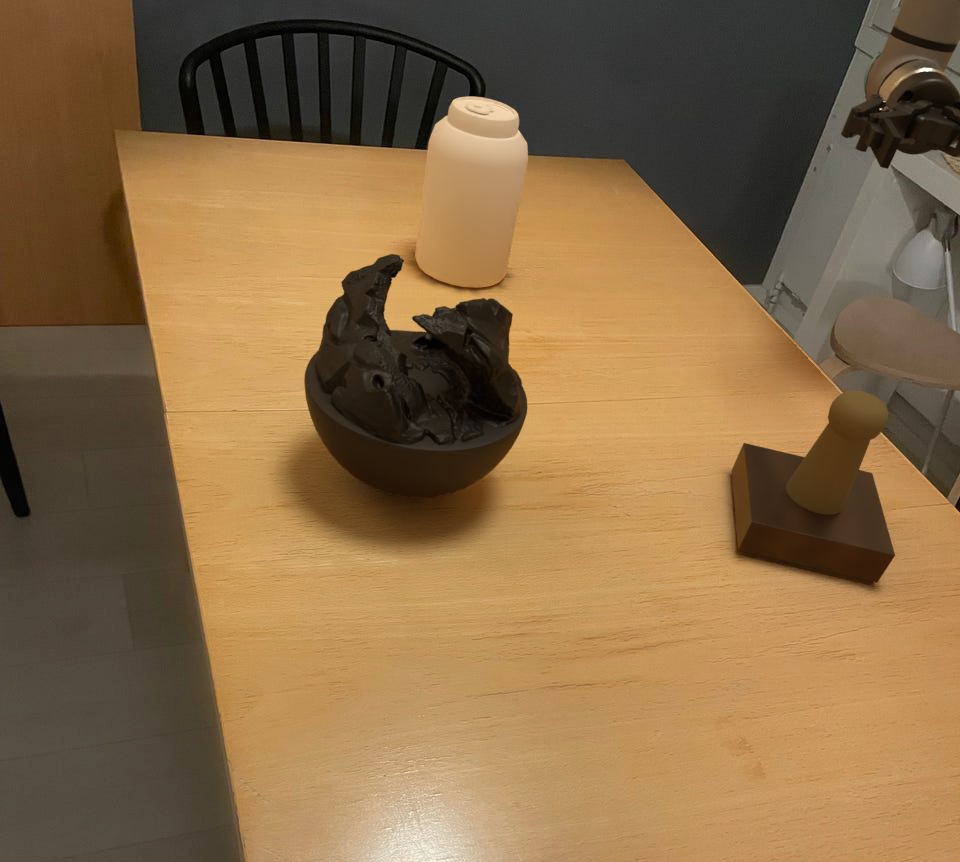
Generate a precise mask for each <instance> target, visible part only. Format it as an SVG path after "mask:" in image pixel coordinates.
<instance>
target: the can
mask: <svg viewBox="0 0 960 862" xmlns="http://www.w3.org/2000/svg"><path fill="white" fill-rule="evenodd" d="M519 126H520V116H519V113H518V112H517V110H516V109H514V108H513V107H511V106H510V105H508V104H506V103H503V102H502V101H498V100H495V99H491V98H488V97H483V96H474V95H473V96H467V95H466V96H461V97H456V98H454V99H453V100H452V102H451V103H450V105H449V107H448V111H447V115H445V116H443V118H441V119H440V120H439V121H437V122H436V123H435V124H434V126H433V129H432V132H431V134H430V137H429V140H428V145H427V153H426V160H425V170H424V178H423V185H422V194H421V202H420V211H419V221H418V230H417V237H416V246H415V252H414V258H415V261H416V264H417V265H418V268H419V269H420V270H421V271H423V272H424V274H426V275H428V276H429V277H432V278H433V279H435V280H436V281H439V282H441V283H445V284H447V285H453V286H456V287H462V288H475V289H476V288H477V289H479V288H487V287H491V286H494V285H497V284H499V283H500V282H501V281H503V279H504V278H505V276H506V275H507V271H508V265H509V260H510V255H511V250H512V245H513V240H514V236H515V229H516V225H517V219H518V215H519V209H520V205H521V204H520V203H521V199H522V193H523V188H524V184H525V178H526V173H527V168H528V162H529V150H528V149H529V148H528V142H527V141H526V139H525V137H524V136H523V134H522V133H521V131H520V130H519Z"/></svg>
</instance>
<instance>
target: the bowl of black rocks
mask: <svg viewBox="0 0 960 862" xmlns="http://www.w3.org/2000/svg"><path fill="white" fill-rule="evenodd" d="M404 262H405V259H404V258H402V257H401V256H400V255H399V254H396V253H395V254H394V253H390V254H387V255H384V256H380V257H378V258H377V259H376V260H375V262H374V263H372V264H368V265H366V266H362V267H361V268H358V269H356V270H352V271H350V272H349V273H348V274H347V275H346V276H345V277H344V278H343V280H342V281H341V282H340V283H341V288H342V290H343V294H342V295H340V296H338V297H337V298H336V299H335V300H334V301H333V303H332V304H331V306H330V307H329V309H328V311H327V312H326V315H325V322H324V324H323V326H322V334H321V335H322V336H321V337H322V338H321V341H320V344H319V347H318V350H316V352H315V353H314V354H313V355H312V356H311V358H310V359H309V361H308V363H307V365H306V367H305V370H304V371H305V372H304V377H303V378H304V379H303V381H304V382H303V383H304V394H305V401H306V404H307V408H308V412H309V415H310V419H311V422H312V424H313V426H314V429H315V431H316V433H317V436H318V437H319V439H320V441H321V442H322V444H323V445H324V447H325V448H326V450H327V451H328V453H329V454H330V455H331V456H332V458H333V459H334V460H335V461H336V462H337V463H338V464H339V465H340V467H341V468H343V469H344V470H345V471H347V472H348V473H349V474H350V475H352V476H353V477H354V478H355V479H357V480H358V481H360V482H362V483H363V484H364V485H367V486H368V487H371V488H373V489H375V490H377V491H379V492H383V493H386V494H389V495H393V496H397V497H402V498H408V499H409V498H411V499H431V498H437V497H442V496H446V495H450V494H454V493H456V492H459V491H462V490H463V489H466V488H468V487H471V486H472V485H473V484H475V483H477V482H479V481H481V480H482V479H483V478H484V477H486V476H487V475H488V474H490V473H491V472H492V471H493V470H494V469H495V468H496V467H498V465H499V464H500V463H501V462H502V461H503V460H504V458H505V457H506V456H507V454H509V452H510V451H511V449H512V448H513V447H514V445H515V444H516V441H517V439H518V437H519V435H520V434H521V431H522V428H523V426H524V424H525V421H526V417H527V414H528V397H527V394H526V391H525V389H524V387H523V382H522V381H523V380H522V378H521V377H520V375H519V373H518V371H517V370H515V369H514V368H513V367H512V366H511V364H510V363H509V362H510V361H509V360H510V359H509V358H510V331H511V327H512V323H513V316H514V313H513V312H512V311H510V310H509V309H508V308H506V306H504V305H503V304H501V302H499V301H498V300H497V299H495V298H485V297H482V298H476V299H475V298H474V299H470V300H464V301H459V303H458V304H457V303H456V305H455V306H454V307H452V308H451V307H448V306H446V305H442V306H437V307H435V308H434V311H433V313H432V315H430V314H428V313H427V314H425V313H422V314H419V315H413V316H411V320H412V321H413V322H414V323H415V324H417V325H418V327H420V328H421V329H422V330H424V331H418V330H417V331H415V330H404V329H403V330H402V329H401V330H400V329H390V327H389V325H388V324H387V320H386V318H385V310H386V303H387V299H388V294H389V291H390V288H391V286H392V281H393V279H395V278H396V277H397V275H398V274H399V273H400V272H401V271H402V269H403V264H404Z"/></svg>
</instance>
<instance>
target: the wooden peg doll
mask: <svg viewBox="0 0 960 862" xmlns="http://www.w3.org/2000/svg"><path fill="white" fill-rule="evenodd" d="M827 420H828V423H827V425H825V428H824V429H823V431H822V432H821V433H820V435H819V436H818V437H817V438H816V440H815V442H814V443H813V445H812V446H811V448H810V449H809V451H808V452H807V453H806V455H805V456H804V457H805V458H804V459H803V461H802V462H801V463H800V465H799V466H798V468H797V469H796V471H795V472H794V474H793V475H792V476H791V478H790V479H789V481H788V482H787V485H786V490H787V493H788V495H789V496H790V497H791V499H792V500H794V501H795V502H796V503H797V504H798V505H800V506H802V507H804V508H805V509H807V510H810V511H813V512H815V513H820V514H825V515H829V514H837V513H840V512H841V511H842V510H843V509H844V507H845V505H846V502H847V499H848V497H849V494H850V492H851V489H852V487H853V484H854V481H855V479H856V476H857V474H858V471H859V470H860V468H861V465H862V463H863V461H864V459H865V456H866V453H867V451H868V448H869V446H870V442H871V440H874V439H876V438H877V437H878V436H879V435H880V434H881V433H882V432H883V431H884V429H885V428H886V426H887V424H888V420H889V408H888V407H887V405H886V404H885V403H884V402H883V401H882V400H881V399H880V398H878V397H877V396H875V395H874V394H872V393H869V392H866V391H862V390H845V391H844V392H842V393H840V394H839V395H837V396H836V397H835V398H834V400H833V401H832V402H831V405H830V406H829V410H828V415H827Z"/></svg>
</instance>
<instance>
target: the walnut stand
mask: <svg viewBox="0 0 960 862" xmlns="http://www.w3.org/2000/svg"><path fill="white" fill-rule="evenodd" d="M804 458H805V456H802V455H798V454H793V453H788V452H784V451H780V450H776V449H772V448H767V447H763V446H759V445H754V444H751V443H746V442H743V444H742V446H741V448H740V450H739V453H738V455H737V457H736V459H735V462H734V464H733V466H732V468H731V481H732V494H733V495H732V496H733V505H734V506H733V507H734V519H735V531H736V541H737V543H736V544H737V550H738V551H739V552H740V553H741V554H740V555H741V556H744V557H750V558H753V559H758V560H762V561H766V562H771V563H775V564H779V565H784V566H788V567H793V568H797V569H800V570H805V571H808V572H809V571H810V572H814V573H818V574H823V575H827V576H830V577H835V578H840V579H844V580H848V581H852V582H856V583H861V584H866V585H869V586H871V585H872V583H877V584H878V583H879V581H880V580H881V578H882V577H883V575H884V573H885V572H886V570H887V568H888V567H889V566H890V564H891V563H892V561H893V560H894V558H895V556H896V552H895V549H894V546H893V542H892V538H891V535H890V532H889V528H888V524H887V521H886V517H885V514H884V510H883V507H882V503H881V499H880V495H879V492H878V489H877V485H876V481H875V478H874V475H873V472H870V471H866V470H862V469H859V471H858V474H857V476H856V479H855V481H854V484H853V487H852V489H851V492H850V494H849V497H848V499H847V502H846V505H845V507H844V509H843V510H842V511H841V512H840V513H837V514H829V515H825V514H820V513H815V512H813V511H810V510H807V509H805V508H804V507H802V506H800V505H798V504H797V503H796V502H795V501H794V500H792V499H791V497H790V496H789V495H788V493H787V490H786V485H787V482H788V481H789V479H790V478H791V476H792V475H793V474H794V472H795V471H796V469H797V468H798V466H799V465H800V463H801V462H802V461H803V459H804Z"/></svg>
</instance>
